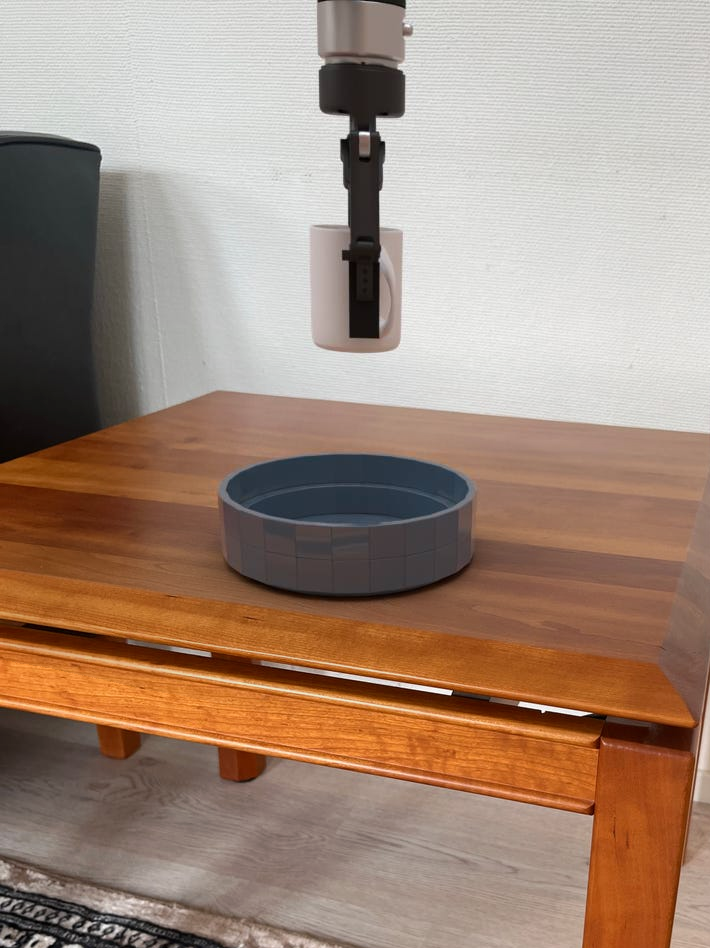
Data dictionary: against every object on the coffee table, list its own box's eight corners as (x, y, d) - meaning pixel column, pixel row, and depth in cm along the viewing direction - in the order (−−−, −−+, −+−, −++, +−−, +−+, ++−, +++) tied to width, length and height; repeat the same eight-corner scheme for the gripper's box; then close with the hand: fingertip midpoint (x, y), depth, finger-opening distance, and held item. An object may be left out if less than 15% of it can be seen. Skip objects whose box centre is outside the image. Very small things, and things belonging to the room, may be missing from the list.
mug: (349, 362, 91) (349, 233, 87) (297, 340, 100) (295, 223, 96) (433, 358, 95) (437, 235, 91) (376, 338, 104) (377, 225, 100)
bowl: (210, 603, 69) (203, 526, 67) (235, 515, 87) (231, 451, 84) (488, 599, 72) (492, 525, 70) (459, 514, 89) (461, 452, 87)
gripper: (415, 55, 78) (410, 349, 88) (398, 78, 99) (395, 313, 108) (316, 48, 77) (321, 347, 86) (320, 73, 98) (323, 311, 107)
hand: (362, 328), depth 97 cm, fingers closed on mug, 11 cm apart
